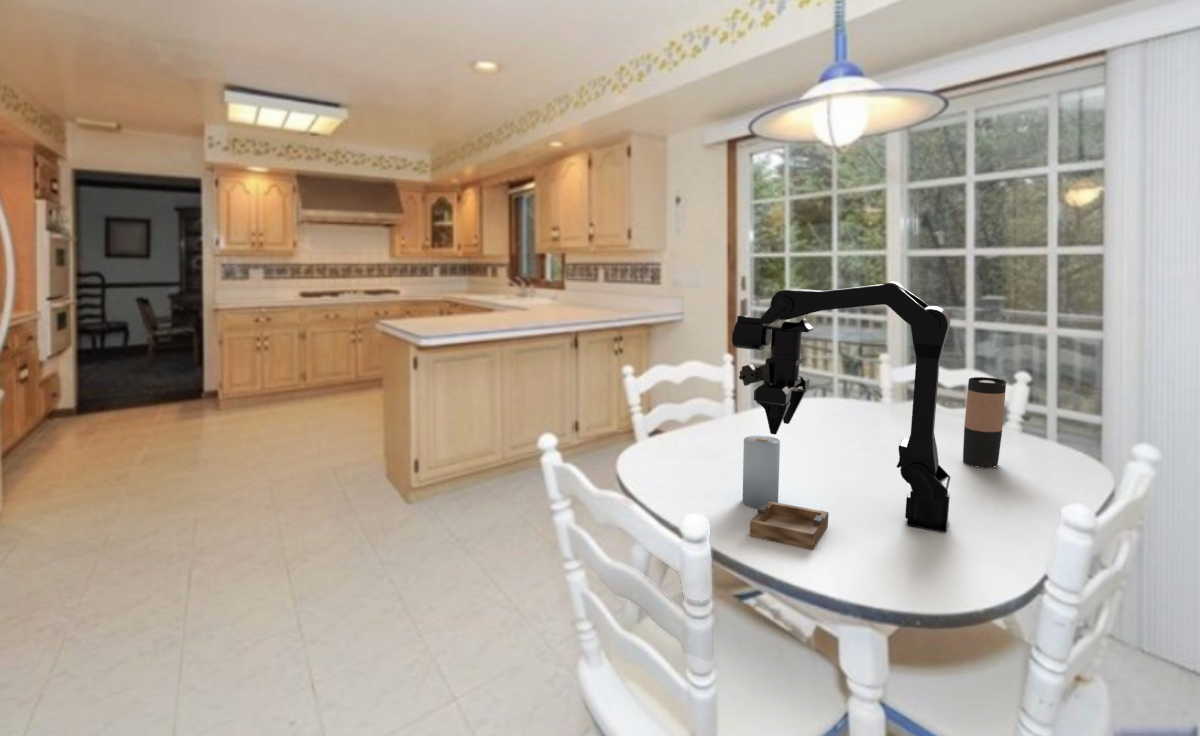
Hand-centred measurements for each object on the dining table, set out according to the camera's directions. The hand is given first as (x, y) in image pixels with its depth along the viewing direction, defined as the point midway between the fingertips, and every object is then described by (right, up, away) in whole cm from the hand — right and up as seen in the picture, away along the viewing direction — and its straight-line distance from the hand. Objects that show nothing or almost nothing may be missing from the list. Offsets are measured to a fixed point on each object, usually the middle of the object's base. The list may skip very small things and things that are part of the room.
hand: (780, 428), depth 131 cm
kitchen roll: (-4, -15, 0) cm, 15 cm away
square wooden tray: (-2, -17, -14) cm, 22 cm away
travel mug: (+53, -10, +21) cm, 58 cm away
